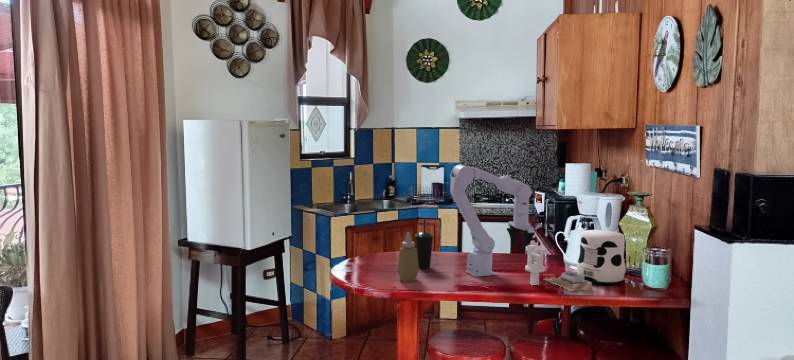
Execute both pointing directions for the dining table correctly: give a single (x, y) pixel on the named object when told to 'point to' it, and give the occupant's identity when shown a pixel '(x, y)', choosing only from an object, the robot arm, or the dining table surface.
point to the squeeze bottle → (408, 260)
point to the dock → (570, 284)
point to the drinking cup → (424, 248)
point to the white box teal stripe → (572, 278)
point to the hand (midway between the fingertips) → (519, 247)
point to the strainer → (535, 262)
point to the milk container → (601, 256)
